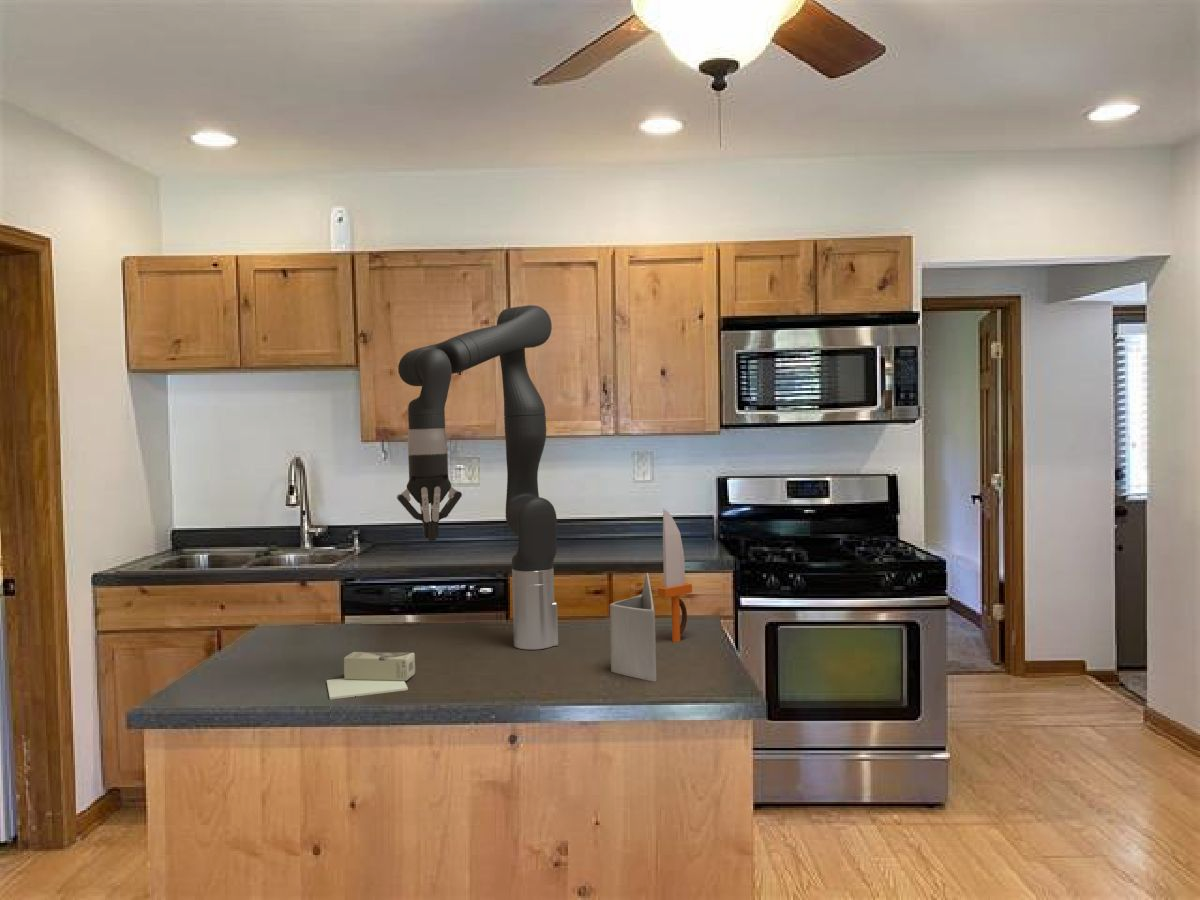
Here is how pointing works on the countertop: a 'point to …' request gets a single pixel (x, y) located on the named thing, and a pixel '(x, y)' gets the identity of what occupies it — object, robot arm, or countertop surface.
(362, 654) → the box
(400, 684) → the sage mat
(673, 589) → the knife
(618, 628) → the planter
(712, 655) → the countertop surface
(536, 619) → the robot arm
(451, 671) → the countertop surface
